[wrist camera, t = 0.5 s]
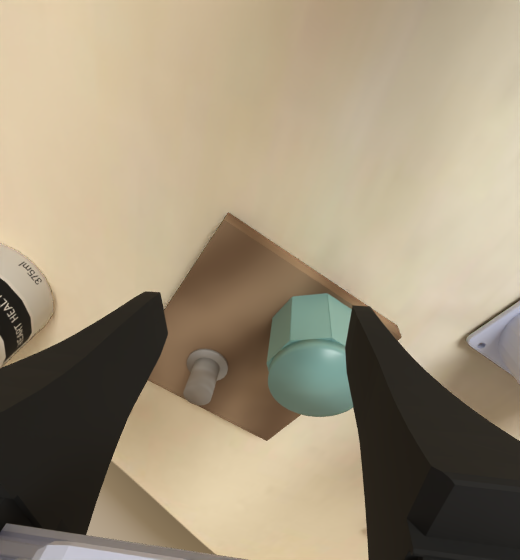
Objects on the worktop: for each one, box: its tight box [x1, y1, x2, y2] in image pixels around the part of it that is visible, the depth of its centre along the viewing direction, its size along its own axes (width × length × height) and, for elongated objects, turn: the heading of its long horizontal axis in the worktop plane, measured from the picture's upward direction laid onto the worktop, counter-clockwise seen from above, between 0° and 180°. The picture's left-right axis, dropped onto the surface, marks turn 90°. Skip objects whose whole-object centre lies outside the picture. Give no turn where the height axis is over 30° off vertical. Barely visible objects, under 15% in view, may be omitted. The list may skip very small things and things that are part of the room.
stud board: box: [148, 212, 401, 441], centre depth 24 cm, size 14×16×4 cm
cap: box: [267, 293, 353, 417], centre depth 20 cm, size 5×5×5 cm
